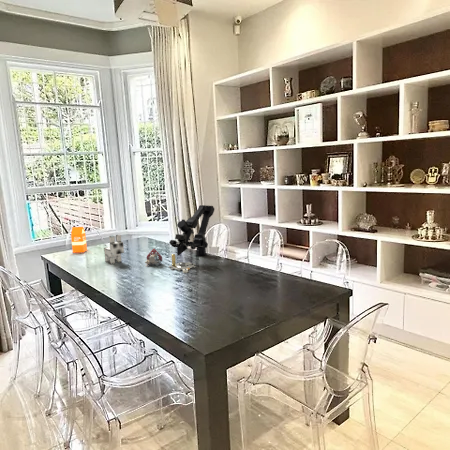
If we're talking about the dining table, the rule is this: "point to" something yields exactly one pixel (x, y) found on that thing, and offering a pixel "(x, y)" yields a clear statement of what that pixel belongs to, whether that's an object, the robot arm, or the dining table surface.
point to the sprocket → (180, 264)
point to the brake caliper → (153, 258)
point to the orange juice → (78, 239)
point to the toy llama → (114, 250)
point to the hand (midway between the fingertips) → (178, 255)
